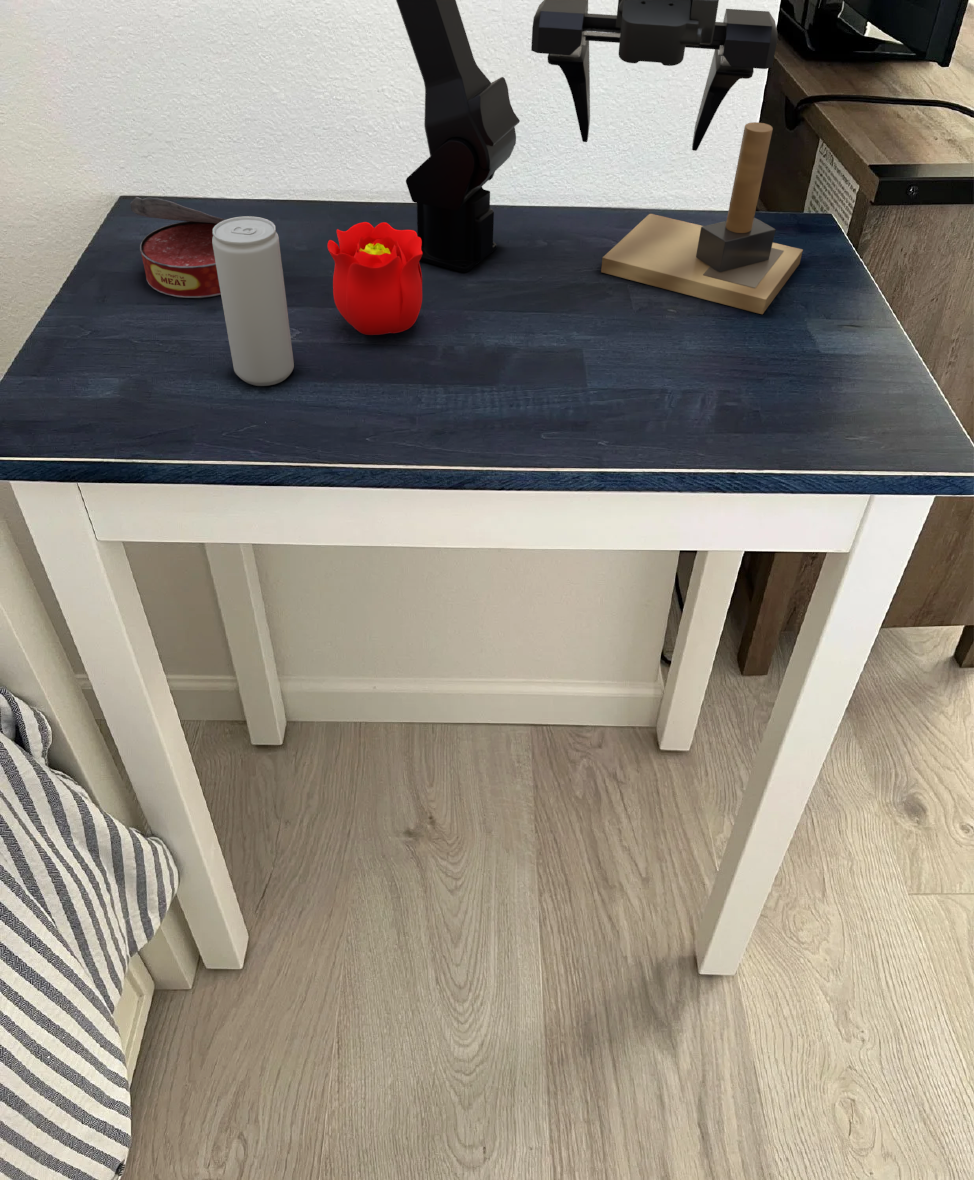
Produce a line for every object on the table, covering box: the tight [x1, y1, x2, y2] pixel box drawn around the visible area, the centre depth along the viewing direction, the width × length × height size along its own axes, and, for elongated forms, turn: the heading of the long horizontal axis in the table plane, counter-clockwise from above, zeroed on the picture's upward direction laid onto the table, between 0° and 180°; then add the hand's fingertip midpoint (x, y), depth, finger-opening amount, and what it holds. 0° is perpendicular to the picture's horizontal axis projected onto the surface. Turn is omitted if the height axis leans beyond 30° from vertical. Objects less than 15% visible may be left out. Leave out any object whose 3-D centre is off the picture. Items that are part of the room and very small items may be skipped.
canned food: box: [129, 196, 226, 299], centre depth 92 cm, size 11×10×10 cm
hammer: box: [696, 122, 776, 272], centre depth 92 cm, size 6×4×12 cm, turn 119°
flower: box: [327, 221, 423, 336], centre depth 85 cm, size 8×8×8 cm
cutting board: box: [600, 213, 804, 315], centre depth 97 cm, size 16×12×2 cm
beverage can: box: [212, 215, 295, 387], centre depth 78 cm, size 5×5×12 cm
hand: (639, 144), depth 85 cm, fingers open, 9 cm apart
